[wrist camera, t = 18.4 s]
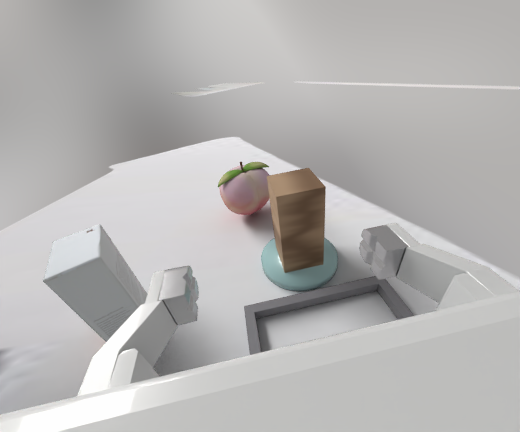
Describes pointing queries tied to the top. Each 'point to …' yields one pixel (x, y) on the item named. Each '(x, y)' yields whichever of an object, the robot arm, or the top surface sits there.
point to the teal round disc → (299, 278)
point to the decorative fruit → (245, 188)
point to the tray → (317, 298)
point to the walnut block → (298, 218)
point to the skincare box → (94, 280)
